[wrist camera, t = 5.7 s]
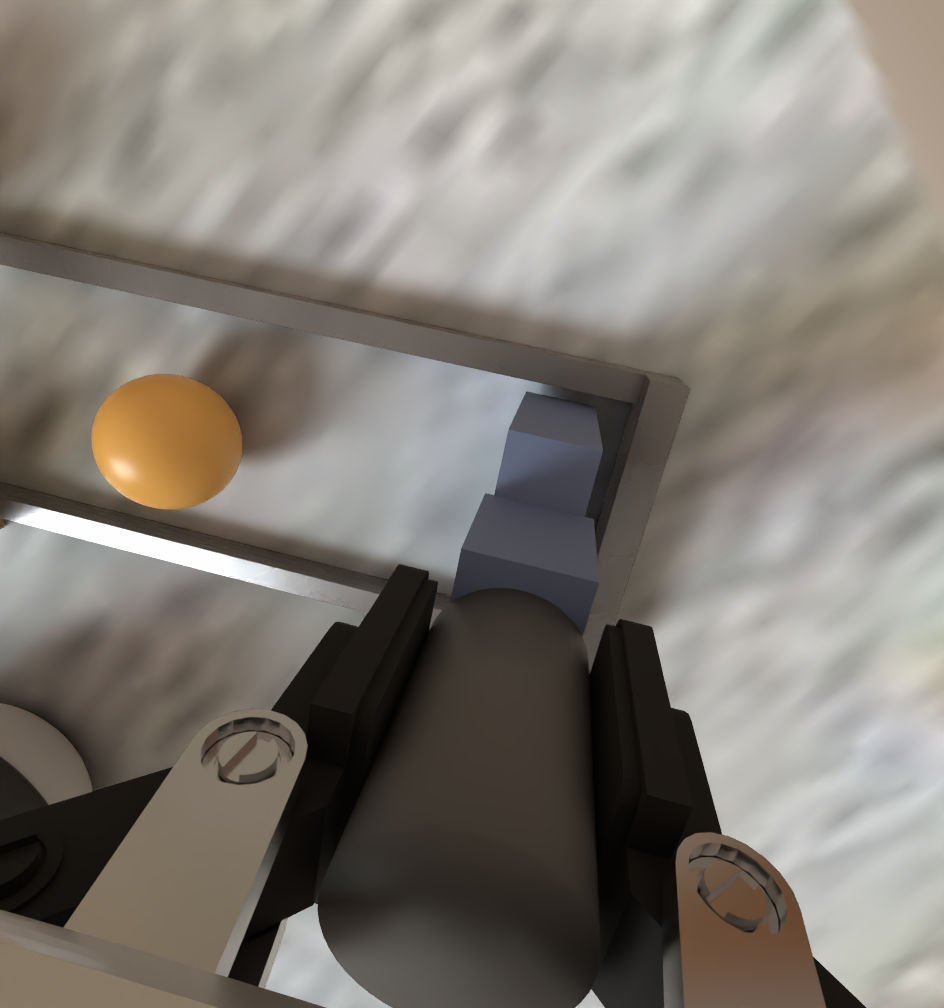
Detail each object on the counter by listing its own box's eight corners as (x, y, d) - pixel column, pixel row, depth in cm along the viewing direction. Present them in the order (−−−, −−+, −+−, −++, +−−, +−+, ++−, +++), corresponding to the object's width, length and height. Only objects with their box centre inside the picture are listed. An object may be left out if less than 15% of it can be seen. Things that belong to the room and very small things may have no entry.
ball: (270, 381, 19) (195, 403, 15) (262, 498, 20) (192, 544, 17) (152, 354, 19) (51, 370, 15) (153, 470, 21) (59, 511, 17)
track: (677, 377, 17) (690, 389, 15) (590, 653, 20) (592, 689, 18) (-27, 227, 19) (-93, 219, 17) (1, 502, 22) (-51, 522, 20)
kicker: (612, 410, 17) (707, 711, 5) (554, 619, 19) (521, 1157, 7) (509, 387, 17) (357, 619, 5) (464, 596, 20) (291, 1082, 8)
